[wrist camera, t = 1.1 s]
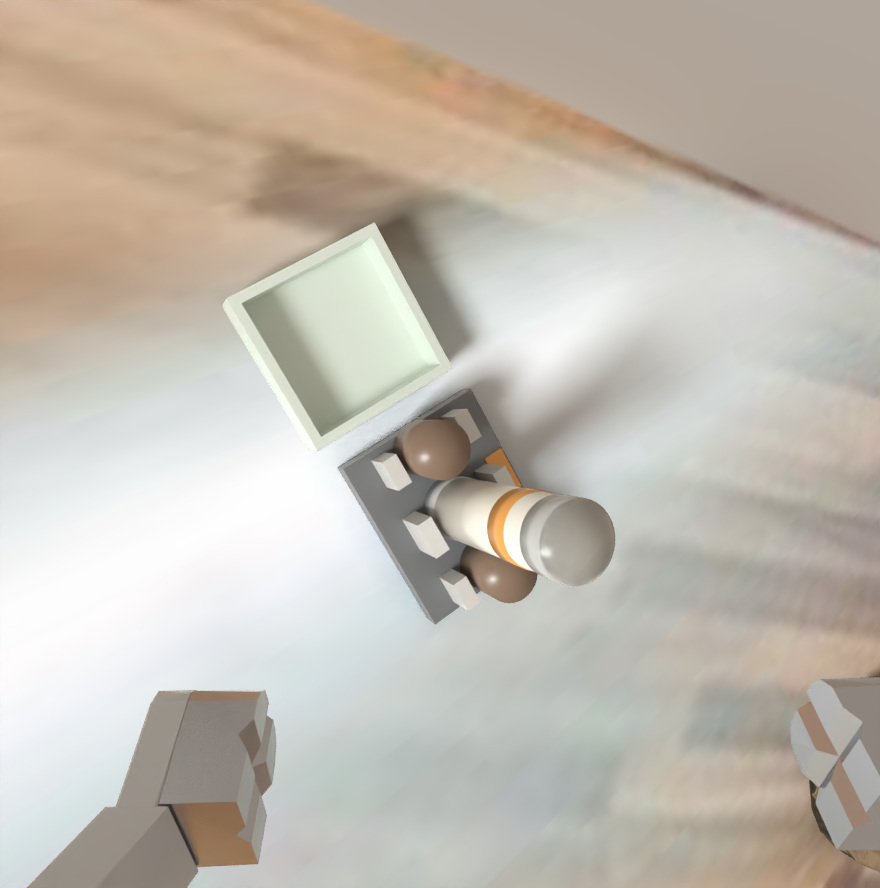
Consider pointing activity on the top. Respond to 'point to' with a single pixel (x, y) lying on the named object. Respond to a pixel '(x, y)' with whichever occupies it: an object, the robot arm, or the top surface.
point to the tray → (338, 336)
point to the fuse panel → (402, 507)
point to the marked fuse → (525, 527)
